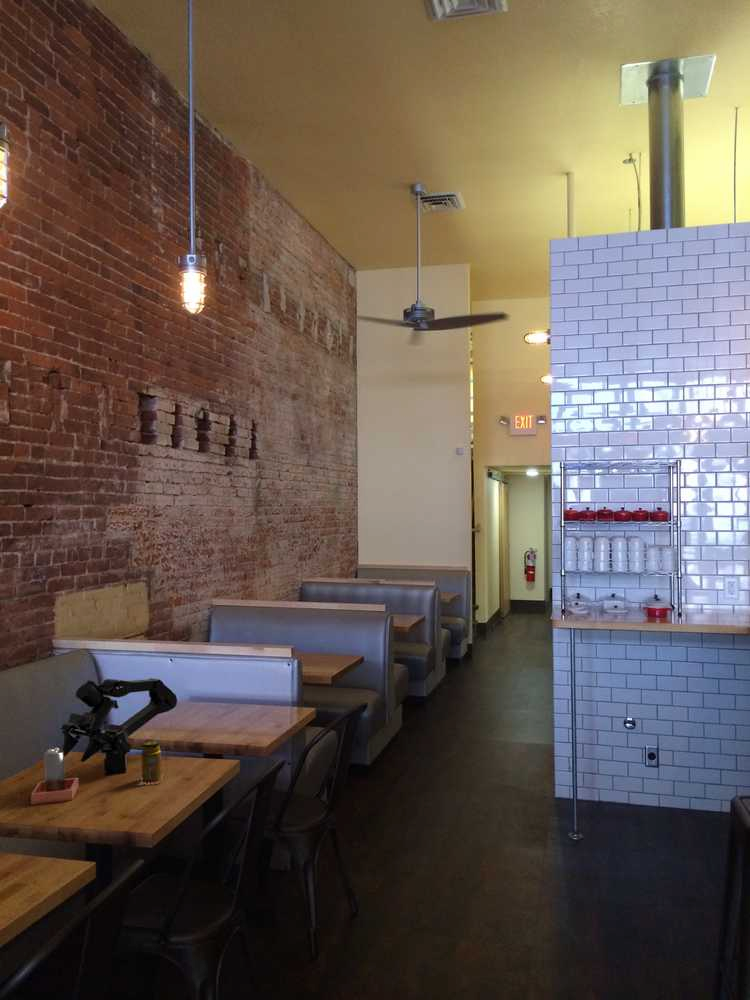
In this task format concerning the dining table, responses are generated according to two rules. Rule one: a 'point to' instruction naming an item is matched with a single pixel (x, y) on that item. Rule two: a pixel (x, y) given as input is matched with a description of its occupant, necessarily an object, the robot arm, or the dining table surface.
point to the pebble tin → (54, 770)
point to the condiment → (151, 762)
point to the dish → (54, 792)
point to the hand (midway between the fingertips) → (72, 759)
